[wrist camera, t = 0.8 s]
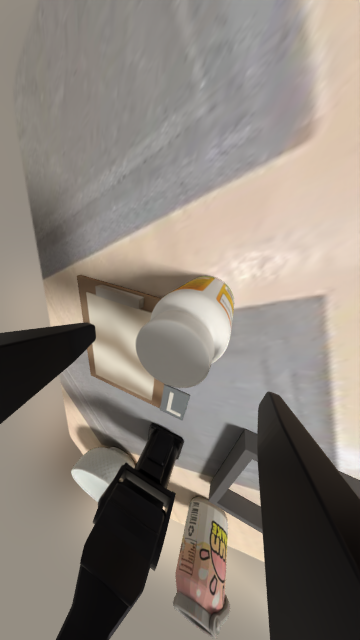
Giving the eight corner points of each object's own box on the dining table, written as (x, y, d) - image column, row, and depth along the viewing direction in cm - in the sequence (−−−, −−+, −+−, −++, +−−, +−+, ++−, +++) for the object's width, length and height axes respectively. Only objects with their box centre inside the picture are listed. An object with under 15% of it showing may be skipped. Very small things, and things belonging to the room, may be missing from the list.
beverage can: (239, 526, 32) (239, 658, 21) (206, 519, 36) (192, 626, 26) (214, 497, 31) (201, 621, 20) (183, 493, 35) (159, 594, 25)
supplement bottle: (174, 308, 17) (113, 360, 9) (197, 264, 15) (139, 280, 6) (215, 334, 17) (190, 414, 9) (246, 293, 14) (254, 352, 6)
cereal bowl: (134, 483, 43) (117, 521, 37) (89, 444, 44) (65, 475, 38) (162, 473, 35) (145, 520, 29) (106, 425, 35) (78, 461, 29)
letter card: (182, 419, 25) (182, 421, 24) (160, 408, 26) (159, 410, 25) (189, 395, 22) (189, 396, 22) (164, 384, 23) (163, 385, 23)
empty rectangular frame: (287, 526, 26) (292, 551, 24) (210, 482, 29) (208, 501, 27) (365, 483, 18) (382, 515, 15) (245, 428, 21) (245, 449, 19)
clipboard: (161, 405, 25) (156, 413, 24) (93, 372, 28) (86, 379, 27) (178, 303, 17) (173, 307, 16) (81, 275, 20) (69, 276, 19)
